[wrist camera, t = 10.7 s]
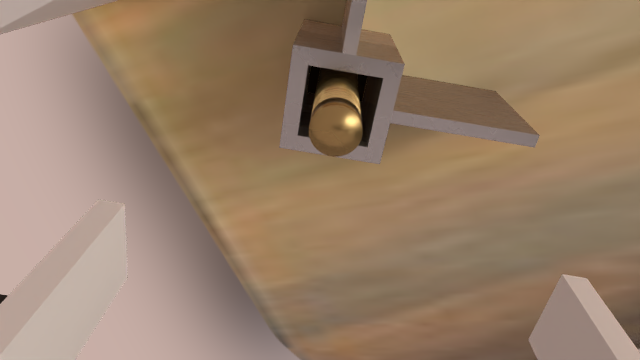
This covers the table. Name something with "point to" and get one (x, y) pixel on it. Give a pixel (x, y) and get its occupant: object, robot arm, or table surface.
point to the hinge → (388, 92)
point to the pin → (336, 113)
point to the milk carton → (39, 11)
